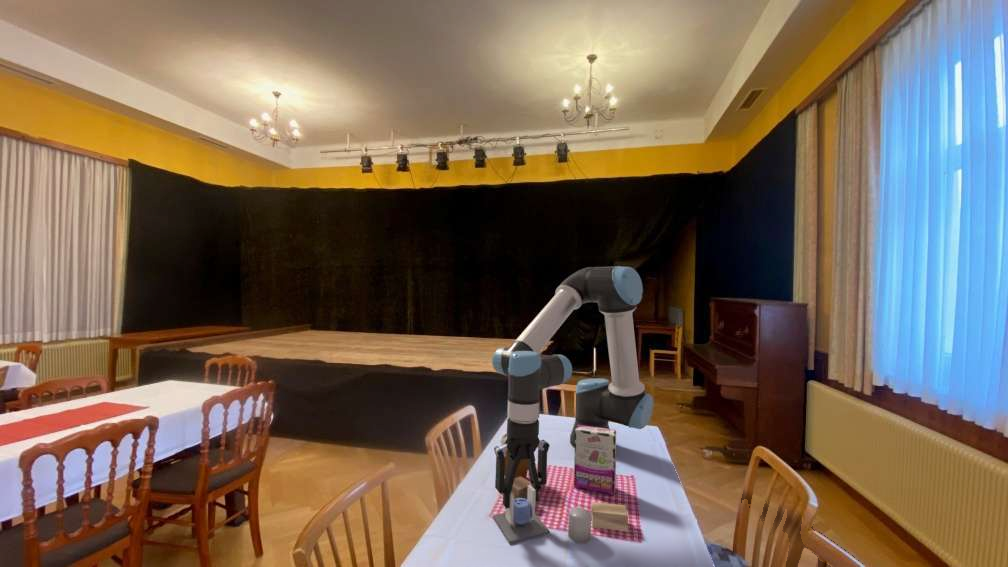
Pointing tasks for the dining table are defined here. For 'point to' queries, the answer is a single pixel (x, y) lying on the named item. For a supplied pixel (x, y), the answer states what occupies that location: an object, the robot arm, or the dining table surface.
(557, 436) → the dining table surface
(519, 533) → the slate coaster
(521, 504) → the decorative dice
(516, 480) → the walnut cube
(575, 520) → the grey plastic cylinder
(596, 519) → the maple bar
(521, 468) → the disposable coffee cup
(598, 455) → the candy bar box
